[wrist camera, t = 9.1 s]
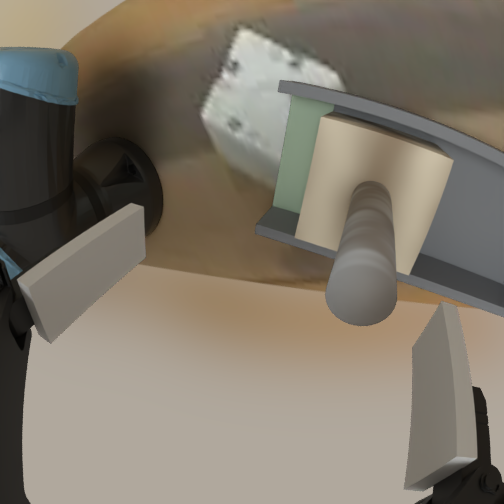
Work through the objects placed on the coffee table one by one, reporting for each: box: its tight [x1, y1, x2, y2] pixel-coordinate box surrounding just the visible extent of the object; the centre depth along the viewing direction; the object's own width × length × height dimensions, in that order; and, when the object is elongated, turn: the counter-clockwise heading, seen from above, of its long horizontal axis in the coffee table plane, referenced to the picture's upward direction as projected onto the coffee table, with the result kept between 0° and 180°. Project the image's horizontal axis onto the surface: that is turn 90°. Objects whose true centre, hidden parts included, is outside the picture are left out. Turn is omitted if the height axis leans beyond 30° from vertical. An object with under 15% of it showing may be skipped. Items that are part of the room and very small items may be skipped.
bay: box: [255, 80, 504, 317], centre depth 25 cm, size 30×14×6 cm, turn 80°
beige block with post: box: [295, 111, 454, 326], centre depth 20 cm, size 10×10×19 cm
